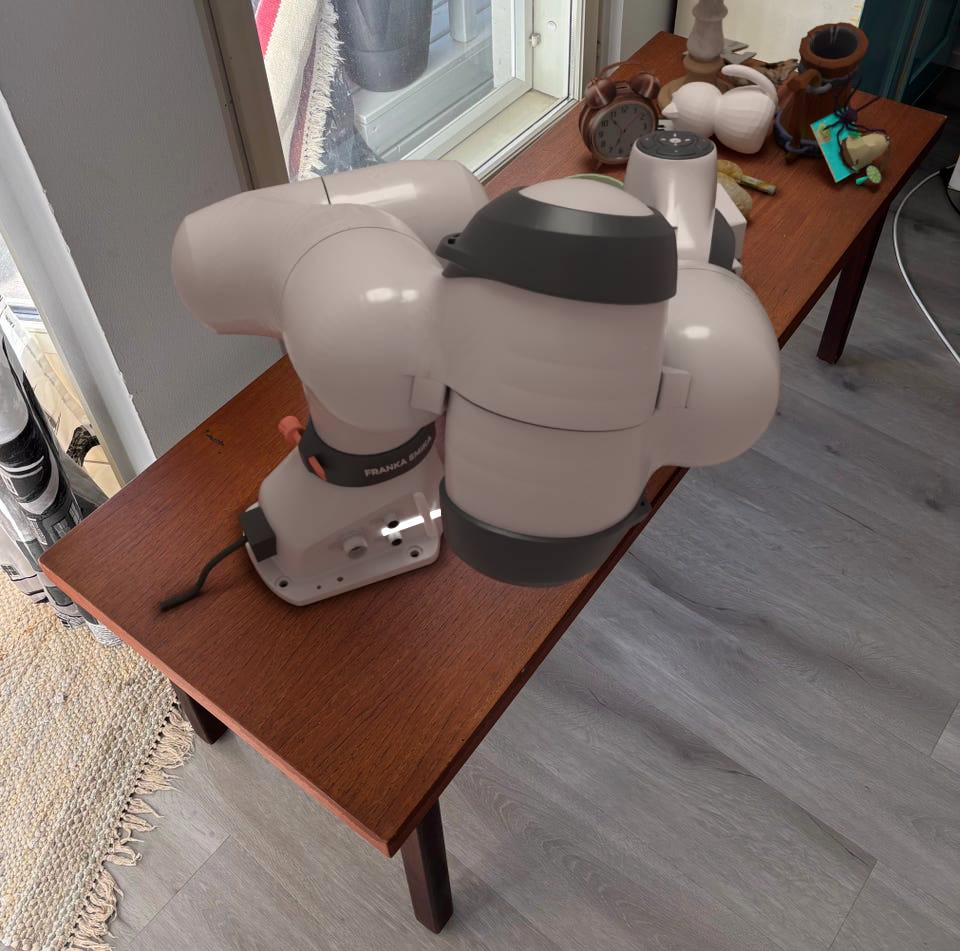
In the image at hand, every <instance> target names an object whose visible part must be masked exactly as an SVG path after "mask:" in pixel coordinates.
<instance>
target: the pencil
mask: <svg viewBox="0 0 960 951" xmlns="http://www.w3.org/2000/svg"><path fill="white" fill-rule="evenodd" d="M727 176H728V175H727ZM729 177H730V176H729ZM740 181H741V182H740V183H739V184H743V185H746V186H749V187H751V188H754V189H755V190H756V189H757V190H759V191H761V192H764V193H765V192H766V193H768V194H769V195H774V193H775V191H776V189H777V185H775V184H773V183H772V184H771V183H769V182H767V181H763V180H761V179H757V178H755V177H752V176H749V175H746V174H745V173H744V174H743V177H742V180H740Z"/></svg>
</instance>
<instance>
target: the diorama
mask: <svg viewBox="0 0 960 951" xmlns="http://www.w3.org/2000/svg"><path fill="white" fill-rule="evenodd" d="M850 80H851V76H850V74H849V73H848V80H847V83H846V84H845V86H844V87H843V89H842V90H841V91H840V92H839V94H838V95H836V94H830V95H833V96H834V98H835V106H834V113H833V114H831V115H829V116H827V117H825V118H823V119H821V120H819V121H817V122H815V123H813V124H811V125H810V126H811V128H812V130H813V132H814V135H815V137H816V139H817V141H818V144H819V146H820V148H821V150H822V153H823V157H824V159H825V161H826V164H827V166H828V168H829V171H830V173H831V175H832V177H833V179H834V182H835V183H838V182H840V181H842V180H843V179H845V178H847V177H848V176H850V175H852V174H855V173H856V174H859V173H860V171H859V170H862V169H863V168H864V167H866V175H867V176H863V177H859V178H856V180H855V183H856V185H858V186H860V185H861V184H863V183H865V182H866V181H867V180H870V181H871V182H872V183H874V184H879V183H880V182H881V181H882V175H881V173H882V172H883V170H884V169H885V168H886V165H887V164H888V162H889V160H890V159H891V157H890V156H891V154H892V148H891V146H892V145H891V144H892V143H891V137H890V136H889V135H888V132H887V130H885V129H884V128H869V127H867V126H866V125H863V124H856V123H855V122H859V119H858V118H859V117H858V113H859V112H860V111H862V110H864V109H865V108H867V107H868V106H870V105H872V104H873V103H875V102H877V101H879V100H880V99H881V98H882V97H883V94H880V95H877V96H875V97H874V98H872V99H871V100H870V101H868V102H866V103H865V104H864V105H862V106H860V107H858V108H856V109H855V108H853V107H849V108H848V107H847V104H848V102H849V100H850V101H851V99H852V98H853V96H854V95H855V93H856V92H857V90H858V89H859V87H860V86H861V84H862V83H863V75H862V74H860V77H859V79H858V82H857V84H856V86H855V87H854V89H853V90H852V91H851V94H850V96H849V97H848V99H847V100H846V102H845V105H844V108H842V109H841V108H840V105H839V102H838V99H839V96H840V94H841V93H842V92H843V90H844V89H845V88H846V87H847V85H848V84H849V82H850ZM836 106H837V108H838V110H839V111H837V112H836V110H837V108H836ZM858 128H860V129H864V130H860V129H858ZM878 132H880V133H878ZM867 133H869V134H867ZM862 134H866V135H863V136H862ZM887 149H888V150H887ZM881 156H884V157H886V158H885V159H884V161H883V163H882V165H881V166H880V167H879V165H878V164H877V163H876V161H875V160H876V159H878V158H879V157H881ZM872 162H873V164H875V165H870V164H871V163H872ZM867 165H868V166H867Z"/></svg>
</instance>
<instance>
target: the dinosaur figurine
mask: <svg viewBox="0 0 960 951" xmlns="http://www.w3.org/2000/svg"><path fill="white" fill-rule="evenodd" d="M798 65H799V59H798V58H789V59H786V60H780V61H775V62H770V63H769V62H765V64H763V63H762V64H761V63H760V64H758V66H756V67H755V66H750V65H747V67H749V68H752V69H754V70H756V71H758V72H760V73H761V74H763V75H764V76H766V77H767V78H768V79H769V80H770V81H771V82H772V84H773V85H774V87H775V89H776V92H777V93H778V90H779V87H781V86H783V85H784V84H783V83H784V82H785V81H789V76H790V75H791V73H793V72H794V71H796V70H797V69H798ZM725 66H727V65H726V63H725V64H723V66H722V68H723V67H725ZM725 77H726V80H727V83H728V84H730V85H731V84H732V85H733V88H737V87H743V86H751V85H757V84H756V83H754V82H753V81H751V80H748V79H746V78H743V77H737V76H729V75H725ZM783 109H784V108H782V107H781V106H780V105H779V104H778V107H777V110H776V112H775V115H777V114H778V112H779V111H781V110H783Z"/></svg>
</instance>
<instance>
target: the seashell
mask: <svg viewBox="0 0 960 951" xmlns="http://www.w3.org/2000/svg"><path fill="white" fill-rule="evenodd" d="M727 175H728V176H727ZM729 176H730V177H729ZM742 177H743V171H742V168H740V166H739V165H738V164H737V163H735V162H732V161H730V160H727V159H717V183H720V184H721V185H722V187H723V188H724V190H725V191H726V192H727V194H728V195H729V197H730V198H731V199H732V201H733V202H734V204H735V205H736V206H737V208H738V209H739V211H740V212H741V214H742V215H743V216H744V218H745V219H746V218H747V217H749V215H750V214H751V212H752V210H753V206H754V204H753V202H754V201H753V198H752V197H751V195H750V194H749V192H748V191H747V190H746V189H744V188H743V187H742V186H740V185H739V184H741V183H740V182H741V181H740V180H742Z"/></svg>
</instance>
